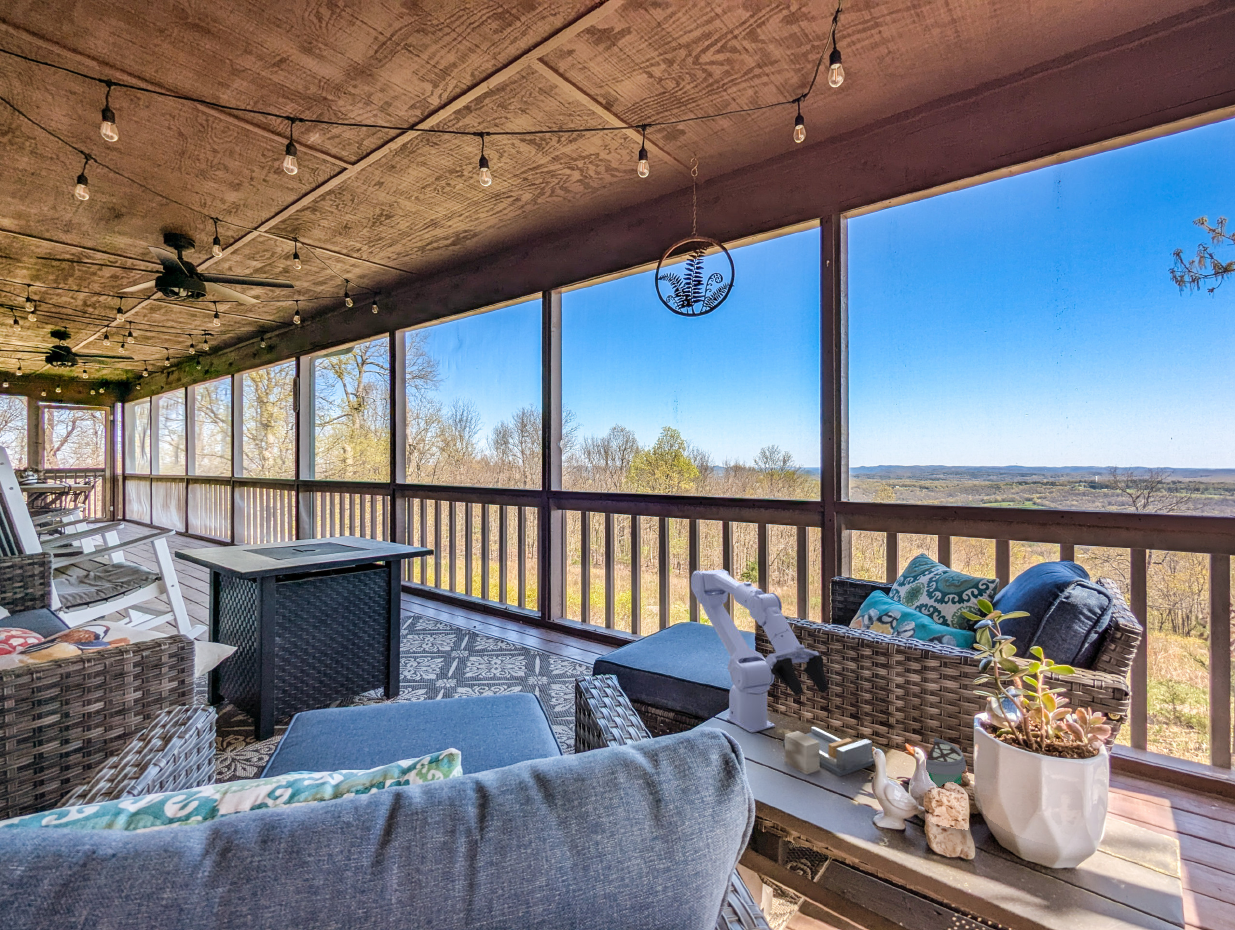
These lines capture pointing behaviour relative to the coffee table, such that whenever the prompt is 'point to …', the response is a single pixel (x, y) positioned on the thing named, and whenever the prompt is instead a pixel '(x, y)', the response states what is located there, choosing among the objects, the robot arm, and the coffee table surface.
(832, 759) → the rail board
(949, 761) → the food container
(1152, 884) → the coffee table surface
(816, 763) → the birch block
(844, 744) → the block
